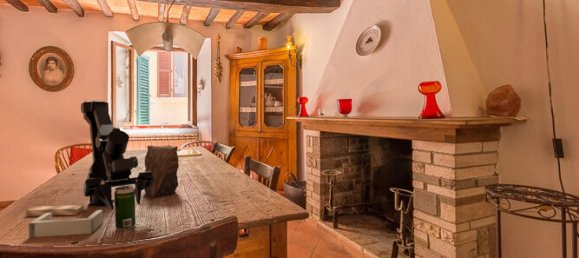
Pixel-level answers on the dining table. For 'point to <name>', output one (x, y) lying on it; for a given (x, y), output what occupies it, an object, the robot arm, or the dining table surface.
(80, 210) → the slat
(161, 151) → the brown paper bag
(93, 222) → the beige u-shaped bracket
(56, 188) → the dining table surface
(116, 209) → the guarana soda can
